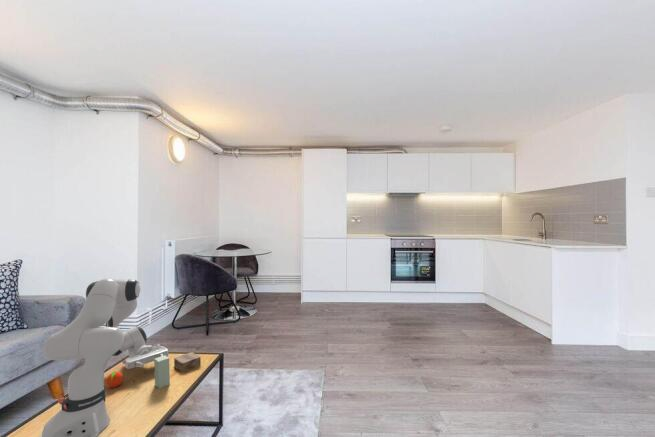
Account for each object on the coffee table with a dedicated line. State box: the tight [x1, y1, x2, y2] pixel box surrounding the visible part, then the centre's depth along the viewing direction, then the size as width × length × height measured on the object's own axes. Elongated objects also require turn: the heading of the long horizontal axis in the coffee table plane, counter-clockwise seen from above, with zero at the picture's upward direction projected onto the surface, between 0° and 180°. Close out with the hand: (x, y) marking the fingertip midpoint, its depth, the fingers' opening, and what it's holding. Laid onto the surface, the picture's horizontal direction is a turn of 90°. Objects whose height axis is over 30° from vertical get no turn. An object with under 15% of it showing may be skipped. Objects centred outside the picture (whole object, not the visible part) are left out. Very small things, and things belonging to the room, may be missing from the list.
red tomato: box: [105, 371, 124, 388], centre depth 153 cm, size 8×7×7 cm
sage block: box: [153, 355, 171, 389], centre depth 154 cm, size 5×5×13 cm
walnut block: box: [173, 351, 202, 373], centre depth 173 cm, size 10×10×4 cm
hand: (152, 362), depth 162 cm, fingers open, 8 cm apart
